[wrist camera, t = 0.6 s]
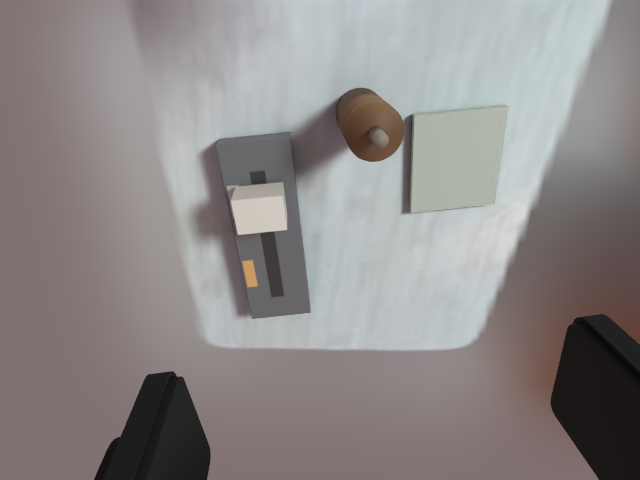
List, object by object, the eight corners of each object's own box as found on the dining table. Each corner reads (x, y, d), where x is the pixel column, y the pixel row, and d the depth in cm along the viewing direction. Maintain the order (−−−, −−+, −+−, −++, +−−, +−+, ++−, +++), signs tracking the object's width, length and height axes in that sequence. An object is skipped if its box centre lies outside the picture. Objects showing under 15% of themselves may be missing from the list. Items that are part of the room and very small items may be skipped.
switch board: (219, 138, 34) (215, 145, 32) (289, 131, 34) (290, 138, 32) (253, 306, 42) (252, 319, 41) (309, 300, 43) (310, 313, 41)
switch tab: (235, 186, 33) (230, 200, 31) (282, 181, 33) (282, 195, 31) (241, 218, 35) (237, 234, 32) (287, 214, 35) (287, 229, 32)
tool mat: (412, 114, 34) (414, 115, 33) (505, 105, 34) (508, 106, 33) (409, 210, 38) (411, 212, 38) (491, 201, 38) (494, 204, 38)
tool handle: (334, 90, 32) (348, 111, 25) (383, 85, 33) (413, 105, 25) (337, 138, 34) (351, 173, 27) (383, 134, 34) (411, 167, 27)
